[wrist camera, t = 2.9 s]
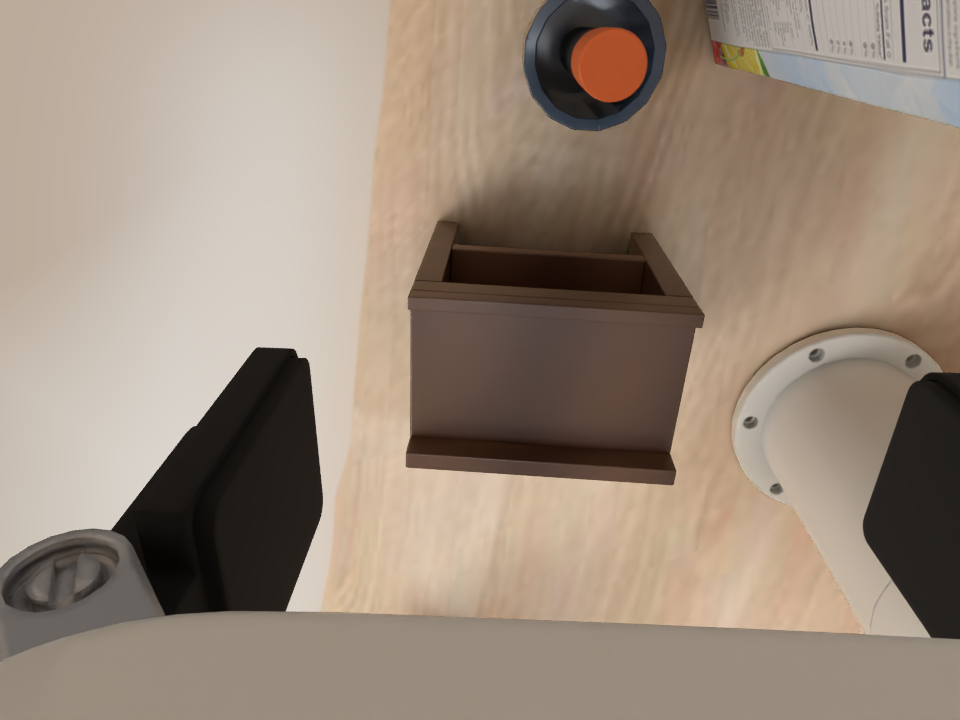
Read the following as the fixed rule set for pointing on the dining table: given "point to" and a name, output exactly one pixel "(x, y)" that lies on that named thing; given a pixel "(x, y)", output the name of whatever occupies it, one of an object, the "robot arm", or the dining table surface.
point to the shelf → (548, 360)
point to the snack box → (849, 49)
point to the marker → (605, 61)
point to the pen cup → (556, 89)
